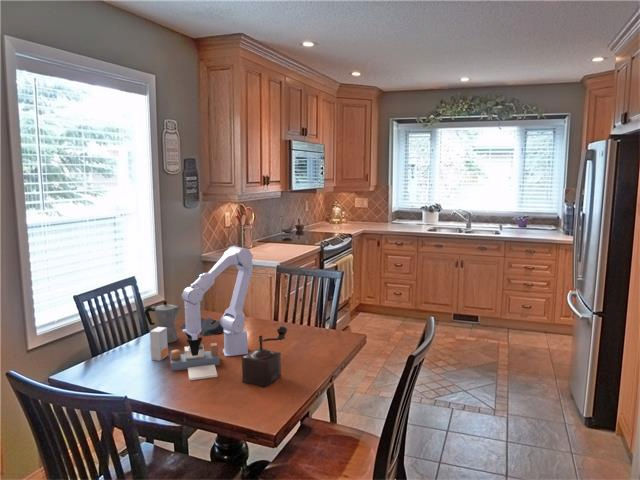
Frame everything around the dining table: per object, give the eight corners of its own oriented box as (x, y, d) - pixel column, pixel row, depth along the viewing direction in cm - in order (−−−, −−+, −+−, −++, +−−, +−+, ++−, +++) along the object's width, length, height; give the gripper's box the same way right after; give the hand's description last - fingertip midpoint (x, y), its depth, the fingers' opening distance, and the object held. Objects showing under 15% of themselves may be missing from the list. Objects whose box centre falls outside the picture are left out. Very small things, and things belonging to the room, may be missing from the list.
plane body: (217, 357, 196) (216, 340, 195) (219, 364, 188) (218, 347, 187) (170, 362, 190) (169, 345, 189) (171, 370, 183) (170, 353, 182)
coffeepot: (182, 335, 222) (181, 297, 220) (181, 342, 213) (179, 302, 211) (147, 338, 219) (145, 299, 216) (144, 345, 210) (142, 304, 207)
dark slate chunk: (203, 320, 245) (202, 311, 244) (232, 329, 231) (232, 319, 231) (177, 328, 233) (176, 319, 232) (207, 338, 220) (206, 328, 219)
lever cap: (203, 353, 192) (202, 343, 192) (204, 357, 188) (203, 347, 187) (185, 355, 190) (184, 345, 190) (185, 360, 186) (185, 349, 185)
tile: (214, 366, 187) (214, 364, 187) (217, 376, 177) (217, 374, 177) (187, 369, 184) (187, 367, 184) (189, 380, 174) (189, 378, 174)
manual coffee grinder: (267, 388, 168) (266, 338, 165) (241, 382, 173) (240, 333, 170) (290, 371, 181) (289, 325, 179) (265, 366, 186) (264, 321, 184)
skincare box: (160, 361, 192) (159, 332, 191) (151, 360, 193) (149, 331, 192) (168, 355, 198) (167, 327, 197) (159, 354, 199) (157, 326, 197)
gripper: (181, 313, 192) (182, 346, 194) (183, 324, 179) (184, 359, 181) (199, 312, 195) (200, 344, 196) (202, 322, 181) (203, 357, 183)
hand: (194, 351), depth 189 cm, fingers open, 7 cm apart
